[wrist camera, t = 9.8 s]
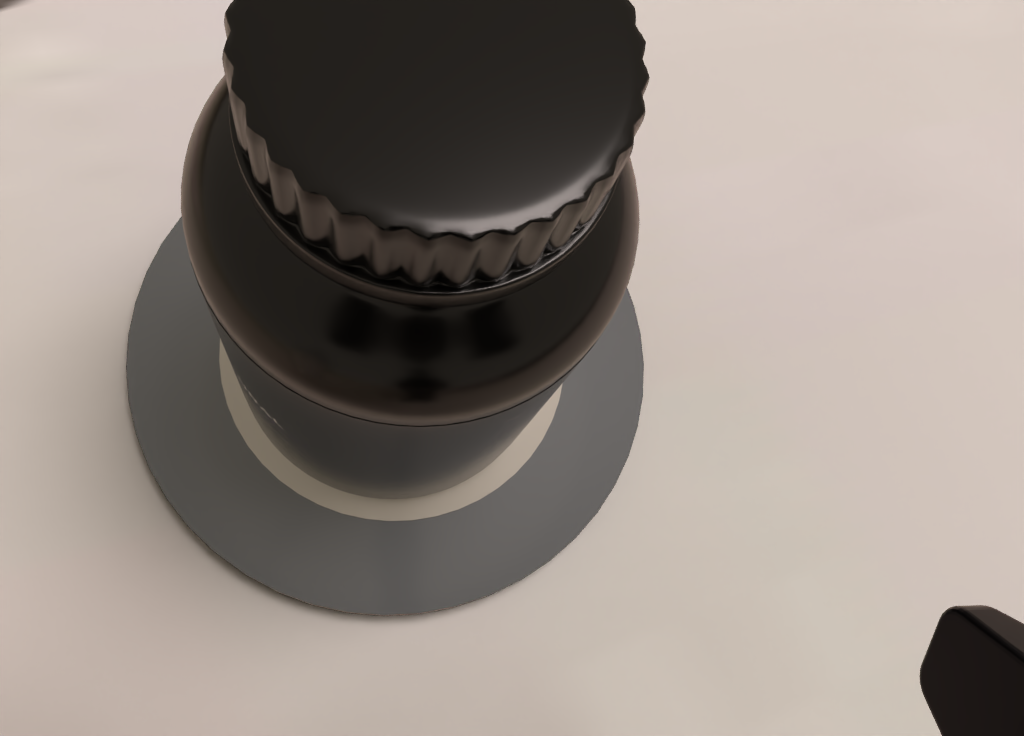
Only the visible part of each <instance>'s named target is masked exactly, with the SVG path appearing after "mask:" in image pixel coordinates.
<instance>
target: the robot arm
mask: <svg viewBox="0 0 1024 736" xmlns="http://www.w3.org/2000/svg"><path fill="white" fill-rule="evenodd" d="M920 684H921V689H922V692H923V695H924V697H925V699H926V702H927V704H928V706H929V708H930V710H931V713H932V715H933V717H934V719H935V721H936V723H937V726H938V728H939V730H940V732H941V734H942V736H1024V624H1023V623H1021V622H1019V621H1017V620H1015V619H1014V618H1012V617H1010V616H1008V615H1006V614H1004V613H1002V612H1000V611H998V610H997V609H994V608H992V607H989V606H983V605H975V606H954V607H951V608H948V609H947V610H946V611H945V612H944V613H943V614H942V616H941V617H940V619H939V622H938V624H937V627H936V629H935V632H934V635H933V637H932V640H931V642H930V645H929V647H928V650H927V652H926V655H925V657H924V660H923V662H922V665H921V668H920Z"/></svg>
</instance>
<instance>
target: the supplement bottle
mask: <svg viewBox="0 0 1024 736" xmlns="http://www.w3.org/2000/svg"><path fill="white" fill-rule="evenodd" d="M635 23H636V14H635V8H634V6H633V5H632V4H631V3H630V1H629V0H234V1H233V2H232V3H231V4H230V6H229V7H228V9H227V11H226V12H225V18H224V24H225V31H226V36H227V41H226V44H225V47H224V50H223V58H222V60H223V67H224V72H225V75H224V77H223V78H222V79H221V80H220V82H219V83H218V84H217V86H216V87H215V89H214V90H213V92H212V94H211V95H210V97H209V98H208V100H207V102H206V103H205V105H204V107H203V109H202V111H201V113H200V116H199V118H198V120H197V122H196V124H195V127H194V130H193V132H192V135H191V138H190V141H189V144H188V149H187V153H186V157H185V162H184V167H183V175H182V184H181V213H182V222H183V230H184V235H185V240H186V244H187V248H188V253H189V257H190V261H191V265H192V268H193V271H194V274H195V276H196V279H197V282H198V285H199V288H200V290H201V293H202V295H203V298H204V300H205V303H206V305H207V307H208V310H209V312H210V315H211V317H212V319H213V322H214V324H215V327H216V329H217V332H218V334H219V336H220V339H221V341H222V344H223V346H224V348H225V351H226V353H227V356H228V358H229V360H230V363H231V365H232V368H233V370H234V373H235V375H236V377H237V380H238V382H239V385H240V387H241V389H242V392H243V394H244V396H245V399H246V401H247V403H248V405H249V407H250V409H251V411H252V413H253V415H254V417H255V419H256V421H257V422H258V424H259V425H260V427H261V429H262V430H263V432H264V433H265V435H266V436H267V437H268V439H269V440H270V441H271V443H272V444H273V445H274V446H275V447H276V448H277V449H278V450H279V451H280V452H281V453H282V454H283V456H285V457H286V458H287V459H288V460H289V461H290V462H291V463H293V464H294V465H295V466H296V467H298V468H299V469H300V470H302V471H303V472H305V473H306V474H307V475H309V476H311V477H312V478H314V479H316V480H318V481H319V482H321V483H324V484H326V485H328V486H330V487H332V488H335V489H338V490H341V491H344V492H347V493H350V494H354V495H358V496H363V497H369V498H377V499H407V498H415V497H421V496H426V495H430V494H434V493H437V492H441V491H443V490H446V489H448V488H451V487H454V486H456V485H458V484H460V483H462V482H464V481H466V480H468V479H469V478H471V477H473V476H474V475H476V474H477V473H479V472H481V471H482V470H483V469H485V468H486V467H487V466H488V465H490V464H491V463H492V462H493V461H495V460H496V459H497V458H498V457H499V456H500V455H501V454H502V453H503V452H504V451H505V450H506V449H507V448H508V447H509V446H510V445H511V444H512V442H513V441H514V440H515V439H516V438H517V437H518V435H519V434H520V433H521V432H522V431H523V430H524V428H525V427H526V426H527V425H528V424H529V422H530V421H531V420H532V419H533V418H534V416H535V415H536V414H537V413H538V412H539V411H540V409H541V408H542V407H543V406H544V405H545V403H546V402H547V401H548V400H549V399H550V397H551V396H552V395H553V394H554V393H555V392H556V390H557V389H558V388H559V387H560V386H561V384H562V383H563V382H564V381H565V380H566V378H567V377H568V376H569V375H570V374H571V372H572V371H573V370H574V369H575V368H576V367H577V365H578V364H579V363H580V362H581V361H582V359H583V358H584V357H585V356H586V355H587V353H588V352H589V351H590V350H591V349H592V347H593V346H594V345H595V343H596V342H597V340H598V339H599V337H600V336H601V334H602V333H603V331H604V330H605V328H606V327H607V325H608V324H609V322H610V320H611V319H612V317H613V315H614V313H615V311H616V309H617V308H618V306H619V304H620V302H621V300H622V298H623V295H624V293H625V290H626V288H627V285H628V283H629V280H630V276H631V273H632V269H633V266H634V261H635V256H636V250H637V244H638V234H639V200H638V193H637V186H636V179H635V175H634V171H633V167H632V163H631V159H630V155H631V152H632V149H633V143H634V136H635V135H636V133H637V131H638V129H639V127H640V126H641V124H642V122H643V119H644V116H645V105H644V100H643V94H644V92H645V90H646V88H647V85H648V82H649V74H648V71H647V68H646V66H645V65H644V62H643V55H644V51H645V44H646V42H645V40H644V38H643V36H642V34H641V33H640V32H639V31H638V29H637V27H636V25H635Z"/></svg>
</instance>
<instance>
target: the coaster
mask: <svg viewBox="0 0 1024 736" xmlns="http://www.w3.org/2000/svg"><path fill="white" fill-rule="evenodd" d="M126 370H127V383H128V396H129V404H130V409H131V413H132V417H133V422H134V426H135V430H136V435H137V438H138V440H139V443H140V445H141V448H142V450H143V453H144V456H145V458H146V461H147V463H148V466H149V468H150V470H151V472H152V474H153V475H154V477H155V479H156V481H157V482H158V484H159V486H160V488H161V489H162V491H163V493H164V495H165V497H166V498H167V500H168V501H169V502H170V504H171V505H172V506H173V507H174V509H175V510H176V511H177V513H178V514H179V515H180V516H181V518H182V519H183V520H184V522H185V523H186V524H187V525H188V527H189V528H190V529H191V530H192V531H193V532H194V533H195V534H196V535H198V536H199V537H200V538H201V539H202V540H203V541H204V542H205V543H206V544H207V545H208V546H209V547H210V548H211V549H212V550H213V551H214V552H215V553H217V554H218V555H219V556H221V557H222V558H223V559H225V560H226V561H228V562H229V563H230V564H232V565H233V566H234V567H236V568H237V569H238V570H240V571H241V572H243V573H244V574H245V575H247V576H248V577H250V578H252V579H254V580H256V581H258V582H260V583H262V584H263V585H265V586H267V587H269V588H271V589H273V590H275V591H277V592H278V593H281V594H284V595H286V596H289V597H292V598H294V599H297V600H300V601H303V602H305V603H308V604H311V605H314V606H319V607H323V608H328V609H332V610H337V611H341V612H346V613H355V614H367V615H379V616H391V615H410V614H422V613H427V612H432V611H438V610H443V609H448V608H454V607H457V606H460V605H463V604H466V603H469V602H472V601H475V600H478V599H481V598H484V597H487V596H489V595H491V594H493V593H495V592H497V591H499V590H501V589H503V588H505V587H507V586H509V585H512V584H514V583H516V582H518V581H520V580H522V579H523V578H525V577H526V576H528V575H529V574H531V573H532V572H534V571H535V570H537V569H538V568H540V567H541V566H543V565H544V564H546V563H547V562H549V561H550V560H551V559H552V558H554V557H555V556H556V555H557V554H558V553H559V552H560V551H561V550H563V549H564V548H565V547H566V546H567V545H568V544H569V543H570V542H572V541H573V540H574V539H575V538H576V537H577V536H578V535H579V533H580V532H581V531H582V530H583V529H584V528H585V526H586V525H587V524H588V523H589V522H590V521H591V519H592V518H593V517H594V516H595V515H596V514H597V512H598V511H599V509H600V508H601V506H602V505H603V503H604V501H605V500H606V498H607V497H608V495H609V494H610V492H611V491H612V489H613V487H614V486H615V484H616V482H617V480H618V478H619V475H620V473H621V471H622V469H623V467H624V465H625V463H626V460H627V458H628V456H629V453H630V449H631V446H632V443H633V440H634V436H635V433H636V430H637V427H638V421H639V415H640V409H641V403H642V397H643V370H644V363H643V354H642V344H641V334H640V330H639V326H638V322H637V317H636V313H635V309H634V305H633V302H632V300H631V297H630V294H629V292H628V289H627V288H626V290H625V293H624V295H623V298H622V300H621V302H620V304H619V306H618V308H617V309H616V311H615V313H614V315H613V317H612V319H611V320H610V322H609V324H608V325H607V327H606V328H605V330H604V331H603V333H602V334H601V336H600V337H599V339H598V340H597V342H596V343H595V345H594V346H593V347H592V349H591V350H590V351H589V352H588V353H587V355H586V356H585V357H584V358H583V359H582V361H581V362H580V363H579V364H578V365H577V367H576V368H575V369H574V370H573V371H572V372H571V374H570V375H569V376H568V377H567V378H566V380H565V381H564V382H563V383H562V384H561V386H560V387H559V388H558V389H557V390H556V392H555V393H554V394H553V395H552V396H551V397H550V399H549V400H548V401H547V402H546V403H545V405H544V406H543V407H542V408H541V409H540V411H539V412H538V413H537V414H536V415H535V416H534V418H533V419H532V420H531V421H530V422H529V424H528V425H527V426H526V427H525V428H524V430H523V431H522V432H521V433H520V434H519V435H518V437H517V438H516V439H515V440H514V441H513V442H512V444H511V445H510V446H509V447H508V448H507V449H506V450H505V451H504V452H503V453H502V454H501V455H500V456H499V457H498V458H497V459H496V460H495V461H493V462H492V463H491V464H490V465H488V466H487V467H486V468H485V469H483V470H482V471H481V472H479V473H477V474H476V475H474V476H473V477H471V478H469V479H468V480H466V481H464V482H462V483H460V484H458V485H456V486H454V487H451V488H448V489H446V490H443V491H441V492H437V493H434V494H430V495H426V496H421V497H415V498H407V499H377V498H369V497H363V496H358V495H354V494H350V493H347V492H344V491H341V490H338V489H335V488H332V487H330V486H328V485H326V484H324V483H321V482H319V481H318V480H316V479H314V478H312V477H311V476H309V475H307V474H306V473H305V472H303V471H302V470H300V469H299V468H298V467H296V466H295V465H294V464H293V463H291V462H290V461H289V460H288V459H287V458H286V457H285V456H283V454H282V453H281V452H280V451H279V450H278V449H277V448H276V447H275V446H274V445H273V444H272V443H271V441H270V440H269V439H268V437H267V436H266V435H265V433H264V432H263V430H262V429H261V427H260V425H259V424H258V422H257V421H256V419H255V417H254V415H253V413H252V411H251V409H250V407H249V405H248V403H247V401H246V399H245V396H244V394H243V392H242V389H241V387H240V385H239V382H238V380H237V377H236V375H235V373H234V370H233V368H232V365H231V363H230V360H229V358H228V356H227V353H226V351H225V348H224V346H223V344H222V341H221V339H220V336H219V334H218V332H217V329H216V327H215V324H214V322H213V319H212V317H211V315H210V312H209V310H208V307H207V305H206V303H205V300H204V298H203V295H202V293H201V290H200V288H199V285H198V282H197V279H196V276H195V274H194V271H193V268H192V265H191V261H190V257H189V253H188V248H187V244H186V240H185V235H184V230H183V222H182V217H181V218H180V219H179V221H178V222H177V223H176V225H175V226H174V228H173V229H172V230H171V232H170V233H169V234H168V236H167V237H166V239H165V240H164V241H163V243H162V244H161V246H160V248H159V250H158V252H157V254H156V256H155V257H154V259H153V261H152V263H151V265H150V267H149V269H148V270H147V273H146V275H145V278H144V281H143V283H142V286H141V289H140V292H139V294H138V297H137V300H136V303H135V307H134V312H133V316H132V321H131V326H130V330H129V336H128V351H127V365H126Z"/></svg>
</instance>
